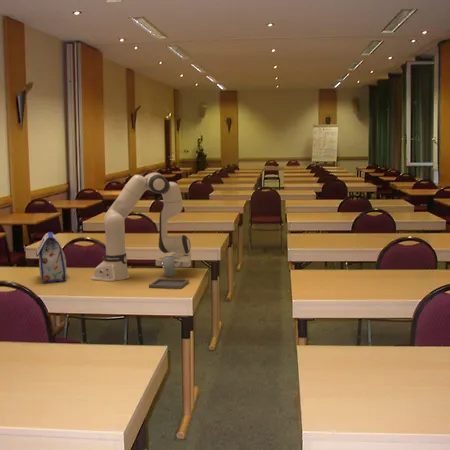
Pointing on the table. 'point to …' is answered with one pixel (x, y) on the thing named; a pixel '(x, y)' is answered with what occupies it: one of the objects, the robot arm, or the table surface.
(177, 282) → the tray
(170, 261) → the grey upright cylinder
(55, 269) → the lunch bag
